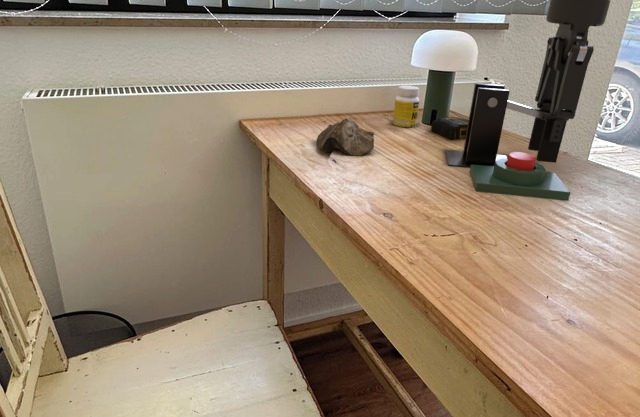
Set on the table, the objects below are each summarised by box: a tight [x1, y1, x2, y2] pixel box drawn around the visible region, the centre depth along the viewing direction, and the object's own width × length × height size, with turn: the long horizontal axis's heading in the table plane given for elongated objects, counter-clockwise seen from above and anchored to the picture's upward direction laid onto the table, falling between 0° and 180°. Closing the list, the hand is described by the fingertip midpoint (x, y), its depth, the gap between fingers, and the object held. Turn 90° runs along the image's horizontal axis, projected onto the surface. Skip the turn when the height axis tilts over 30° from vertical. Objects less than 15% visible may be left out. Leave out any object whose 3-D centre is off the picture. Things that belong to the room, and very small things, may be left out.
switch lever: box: [483, 87, 550, 120], centre depth 75 cm, size 12×5×2 cm, turn 80°
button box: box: [469, 157, 571, 201], centre depth 69 cm, size 12×8×4 cm, turn 80°
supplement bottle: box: [392, 85, 420, 129], centre depth 97 cm, size 5×5×8 cm
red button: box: [506, 151, 537, 171], centre depth 68 cm, size 4×4×2 cm
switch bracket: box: [444, 82, 511, 169], centre depth 77 cm, size 10×8×13 cm
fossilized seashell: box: [315, 117, 375, 157], centre depth 82 cm, size 8×7×10 cm
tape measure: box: [430, 116, 469, 141], centre depth 93 cm, size 7×7×4 cm
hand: (541, 155), depth 77 cm, fingers closed on switch lever, 5 cm apart
